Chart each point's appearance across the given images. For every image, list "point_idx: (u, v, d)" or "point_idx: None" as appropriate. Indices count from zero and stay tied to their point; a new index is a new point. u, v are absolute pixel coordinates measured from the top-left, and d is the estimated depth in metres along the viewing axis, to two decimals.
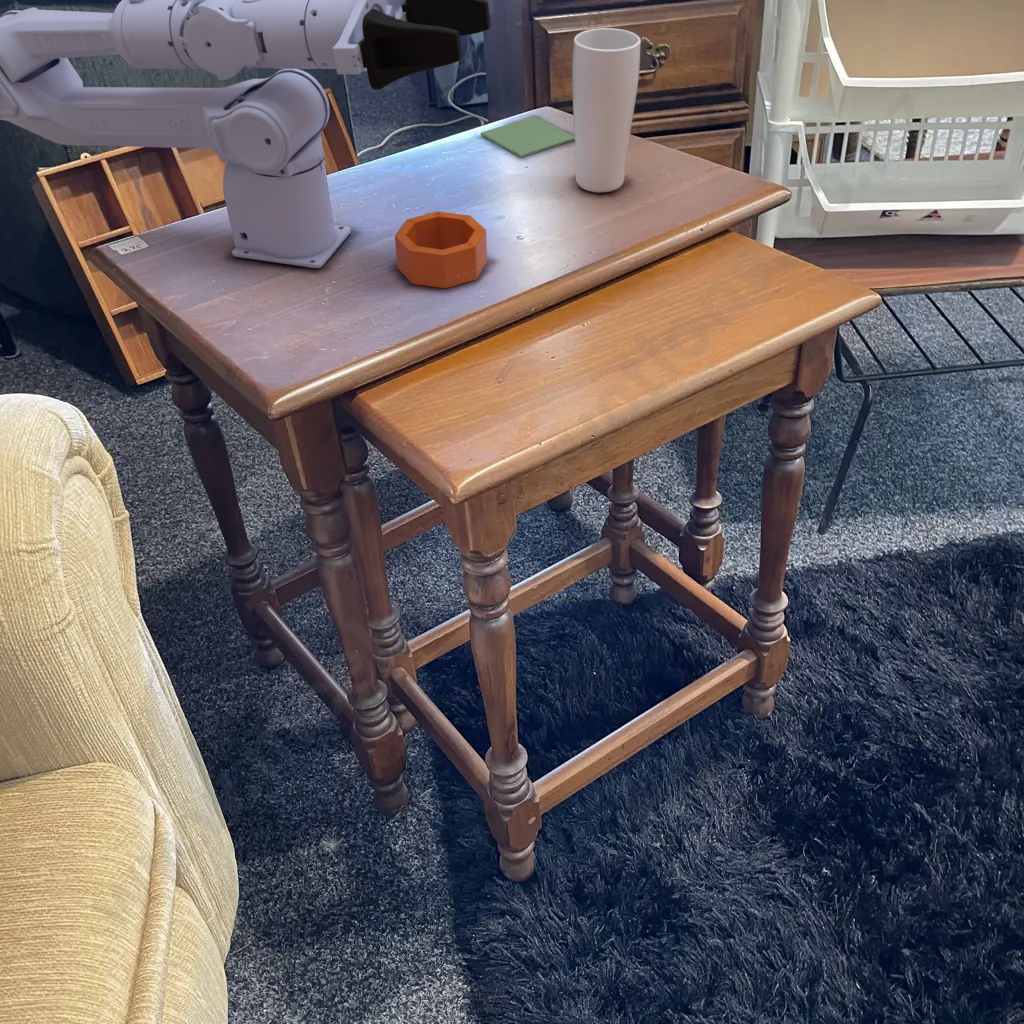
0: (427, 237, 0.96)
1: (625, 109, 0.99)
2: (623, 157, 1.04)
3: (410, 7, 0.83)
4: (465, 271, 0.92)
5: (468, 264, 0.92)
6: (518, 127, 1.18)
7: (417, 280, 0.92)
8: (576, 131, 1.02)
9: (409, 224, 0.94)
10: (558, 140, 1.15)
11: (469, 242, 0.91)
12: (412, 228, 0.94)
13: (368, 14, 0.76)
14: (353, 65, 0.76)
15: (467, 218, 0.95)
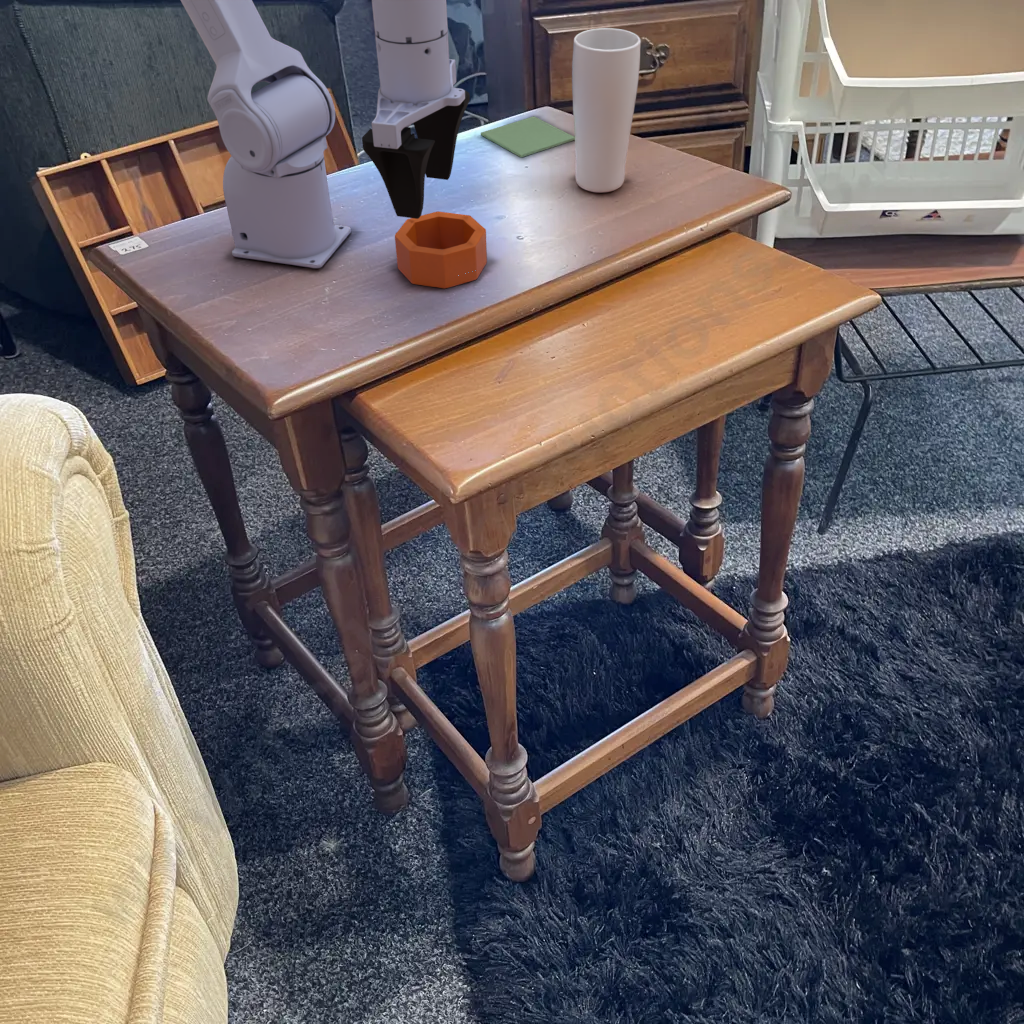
0: (427, 237, 0.96)
1: (625, 109, 0.99)
2: (623, 157, 1.04)
3: None
4: (465, 271, 0.92)
5: (468, 264, 0.92)
6: (518, 127, 1.18)
7: (417, 280, 0.92)
8: (576, 131, 1.02)
9: (409, 224, 0.94)
10: (558, 140, 1.15)
11: (469, 242, 0.91)
12: (412, 228, 0.94)
13: (428, 149, 0.78)
14: (381, 143, 0.76)
15: (467, 218, 0.95)
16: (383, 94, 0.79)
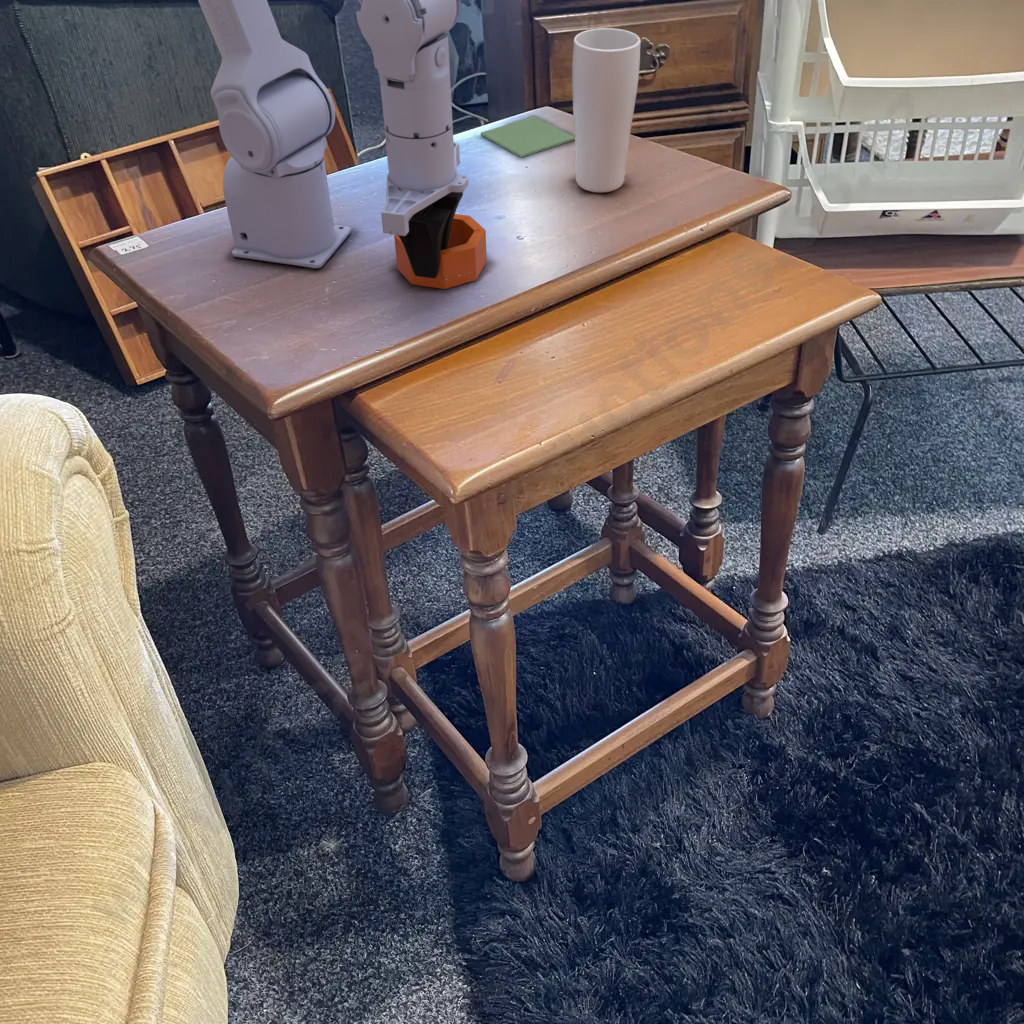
0: None
1: (625, 109, 0.99)
2: (623, 157, 1.04)
3: None
4: (465, 272, 0.92)
5: (468, 265, 0.91)
6: (518, 127, 1.18)
7: (416, 280, 0.92)
8: (576, 131, 1.02)
9: None
10: (558, 140, 1.15)
11: (469, 243, 0.91)
12: None
13: (445, 218, 0.85)
14: (390, 230, 0.81)
15: (467, 219, 0.95)
16: (391, 181, 0.84)
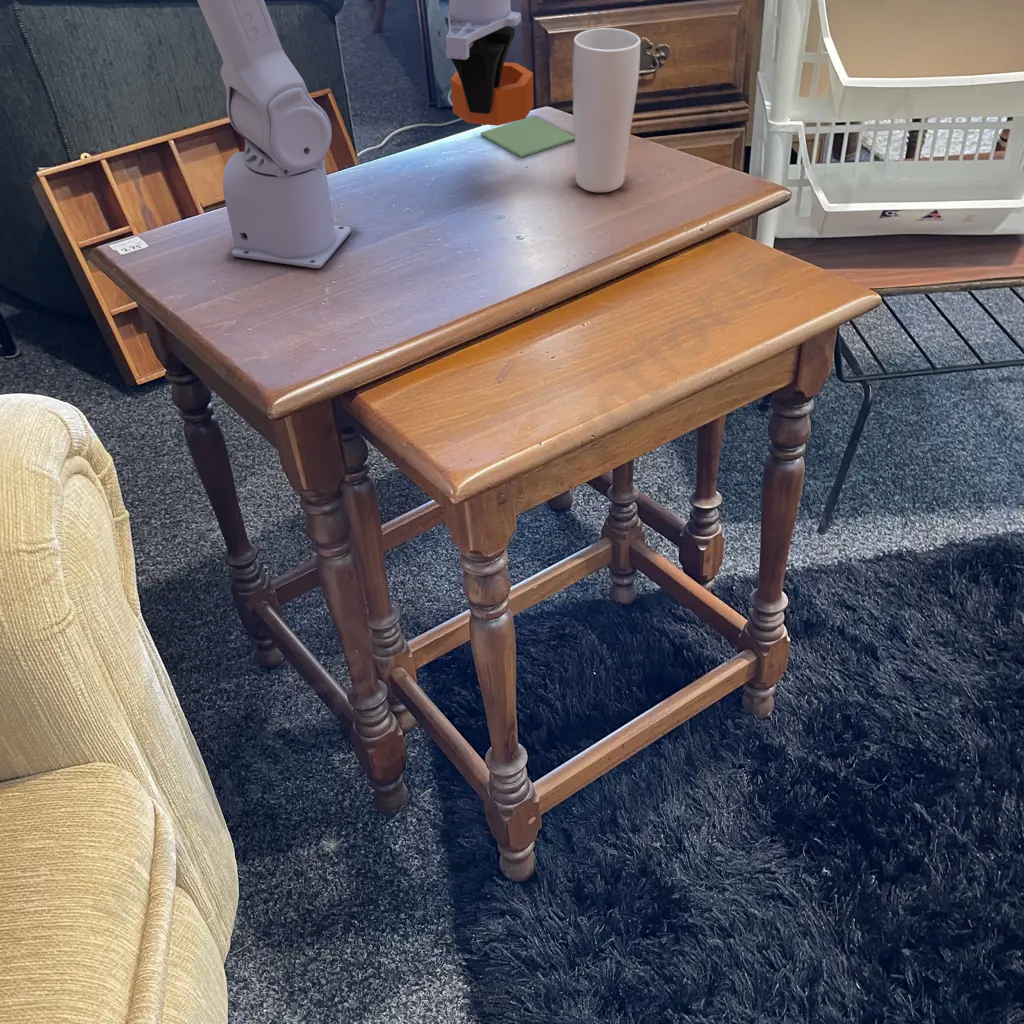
0: None
1: (625, 109, 0.99)
2: (623, 157, 1.04)
3: (490, 36, 0.97)
4: (515, 109, 1.01)
5: (518, 102, 1.01)
6: (518, 127, 1.18)
7: (471, 119, 1.02)
8: (576, 131, 1.02)
9: None
10: (558, 140, 1.15)
11: (519, 82, 1.01)
12: None
13: (500, 50, 0.95)
14: (453, 54, 0.91)
15: (515, 65, 1.04)
16: (452, 16, 0.94)
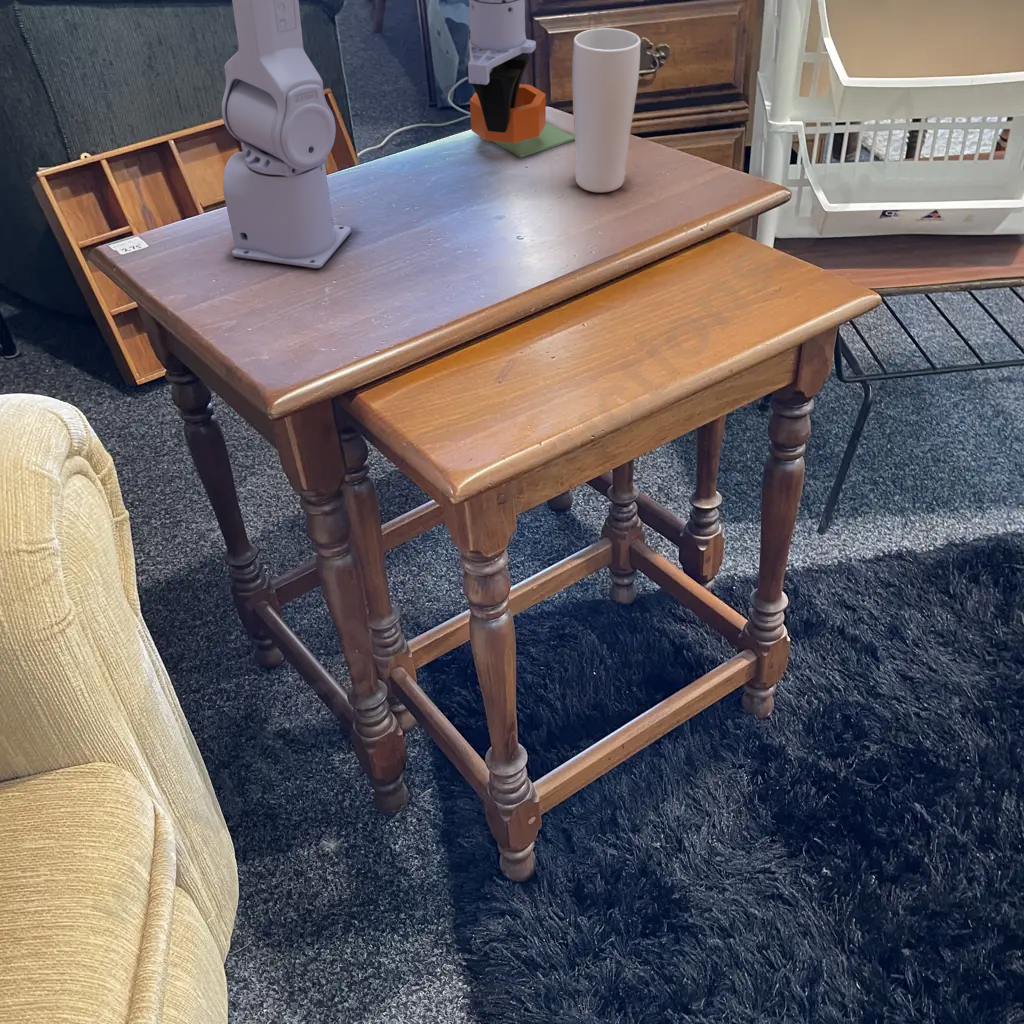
0: None
1: (625, 109, 0.99)
2: (623, 157, 1.04)
3: (507, 62, 1.06)
4: (530, 128, 1.10)
5: (532, 121, 1.10)
6: None
7: (489, 137, 1.10)
8: (576, 131, 1.02)
9: None
10: (558, 140, 1.15)
11: (533, 103, 1.09)
12: None
13: (517, 75, 1.03)
14: (474, 80, 1.00)
15: (529, 87, 1.13)
16: (473, 44, 1.03)
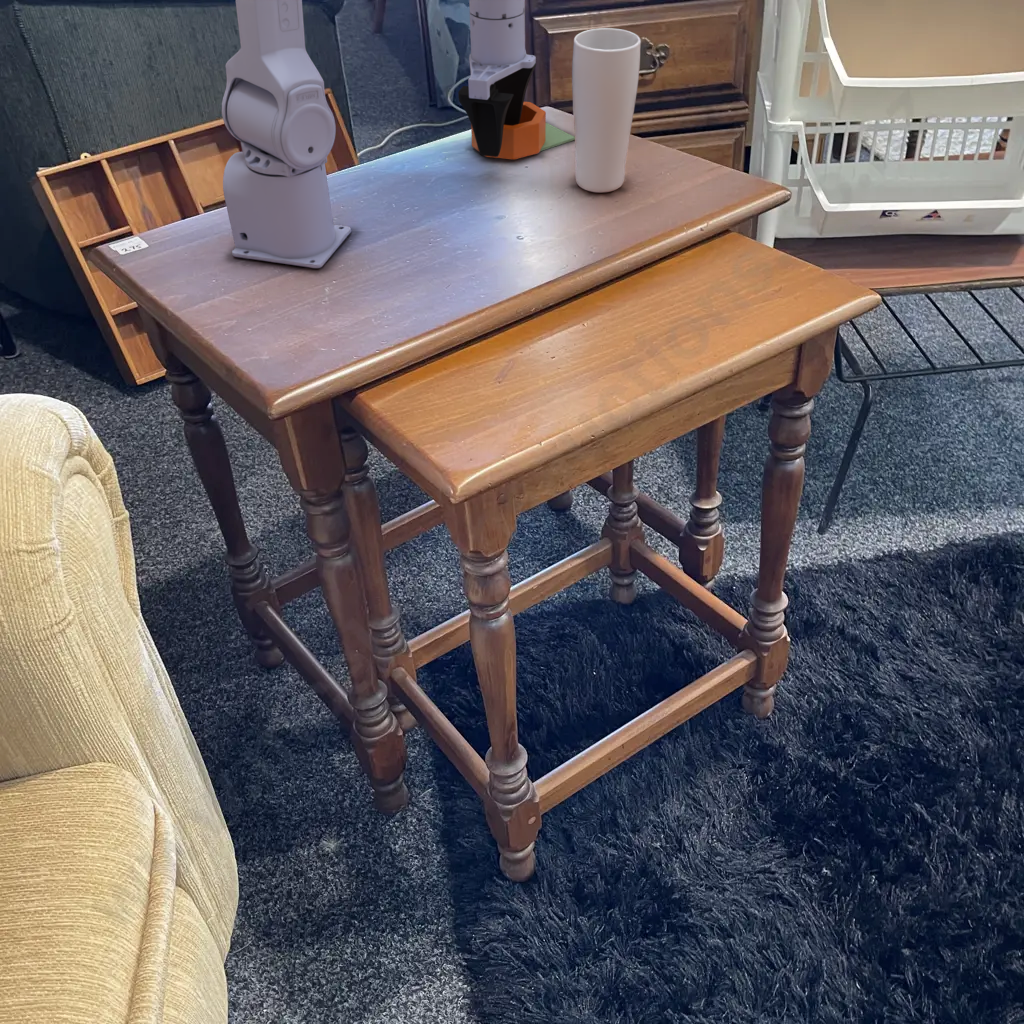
0: None
1: (625, 109, 0.99)
2: (623, 157, 1.04)
3: None
4: (530, 145, 1.11)
5: (532, 139, 1.11)
6: None
7: None
8: (576, 131, 1.02)
9: None
10: (558, 140, 1.15)
11: (533, 120, 1.11)
12: None
13: (509, 100, 1.02)
14: (475, 95, 1.01)
15: (529, 104, 1.14)
16: (474, 59, 1.04)
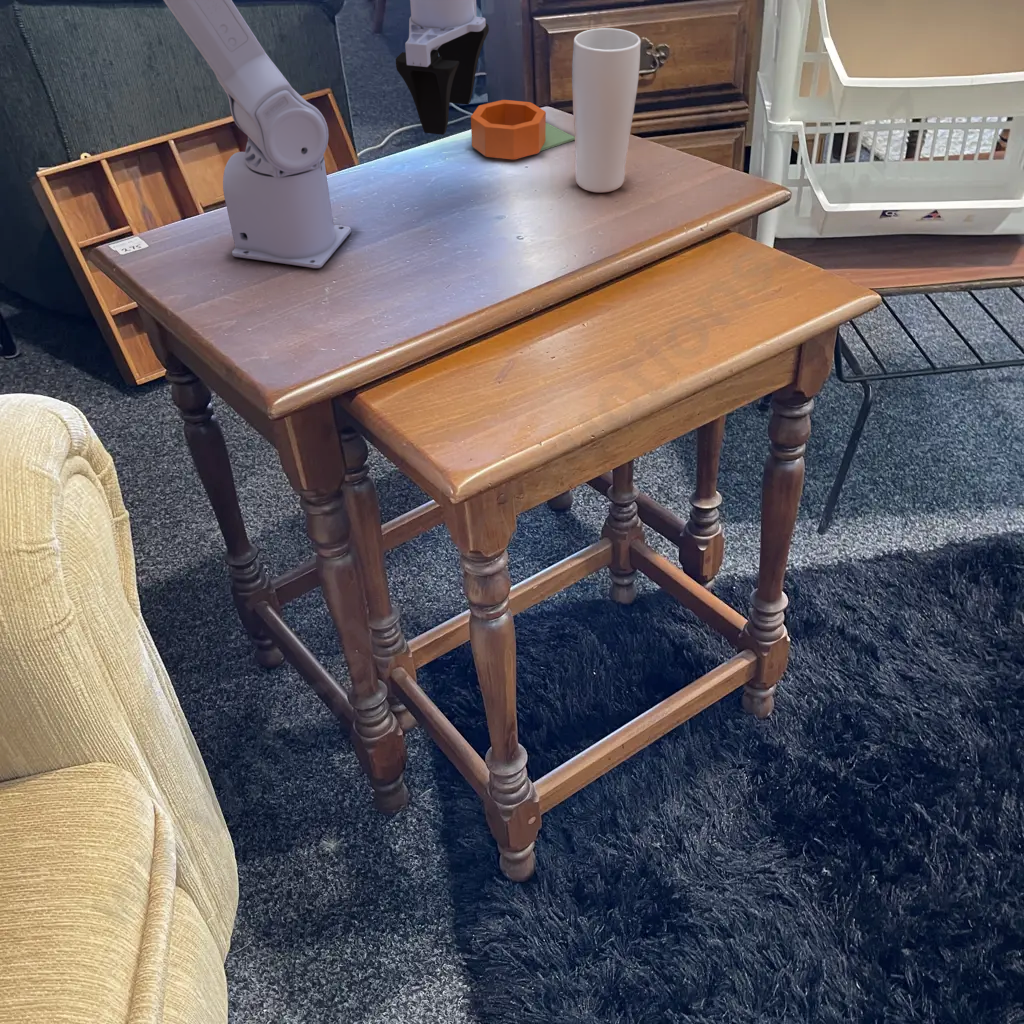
0: (495, 121, 1.15)
1: (625, 109, 0.99)
2: (623, 157, 1.04)
3: None
4: (530, 145, 1.11)
5: (532, 139, 1.11)
6: None
7: (490, 153, 1.12)
8: (576, 131, 1.02)
9: (481, 108, 1.13)
10: (558, 140, 1.15)
11: (533, 120, 1.11)
12: (484, 112, 1.13)
13: (454, 68, 0.89)
14: (413, 62, 0.87)
15: (529, 104, 1.14)
16: (414, 21, 0.90)
